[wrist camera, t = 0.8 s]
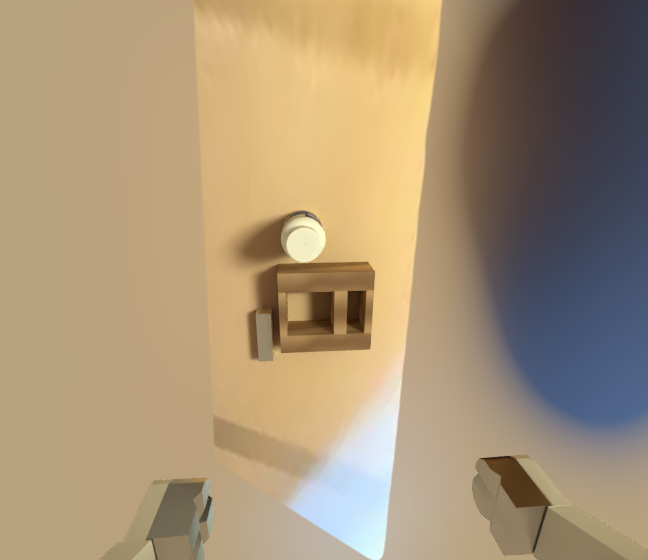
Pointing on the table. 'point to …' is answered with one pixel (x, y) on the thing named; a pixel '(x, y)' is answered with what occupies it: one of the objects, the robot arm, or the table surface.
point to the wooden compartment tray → (339, 328)
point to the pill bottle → (303, 236)
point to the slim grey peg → (265, 334)
